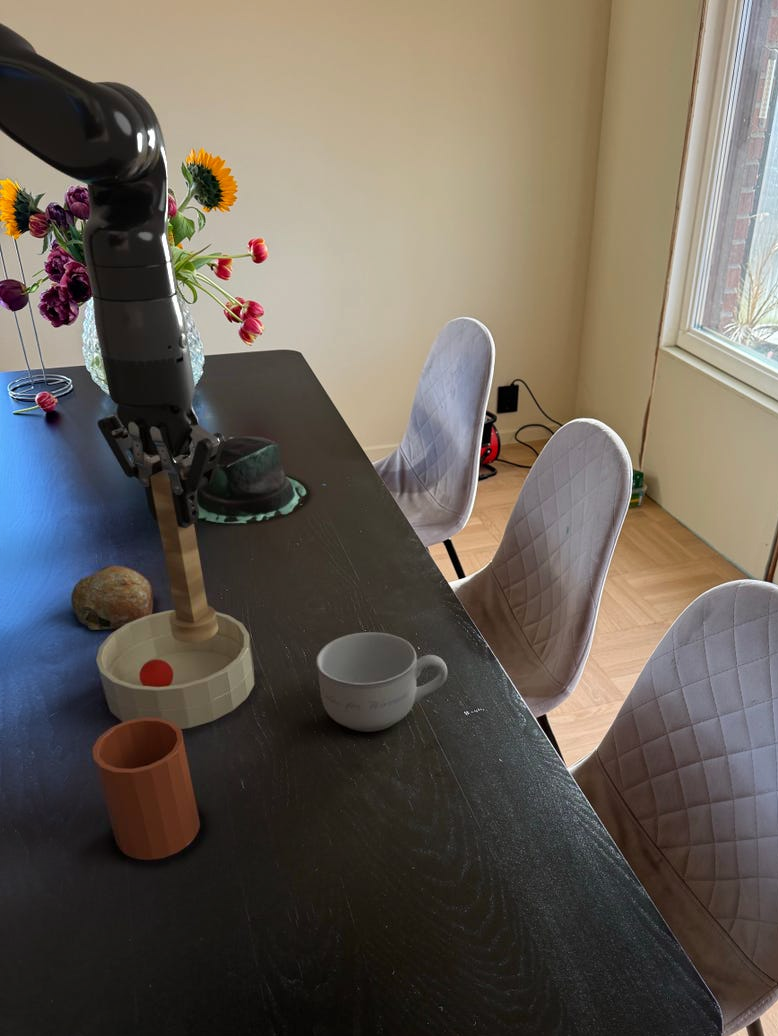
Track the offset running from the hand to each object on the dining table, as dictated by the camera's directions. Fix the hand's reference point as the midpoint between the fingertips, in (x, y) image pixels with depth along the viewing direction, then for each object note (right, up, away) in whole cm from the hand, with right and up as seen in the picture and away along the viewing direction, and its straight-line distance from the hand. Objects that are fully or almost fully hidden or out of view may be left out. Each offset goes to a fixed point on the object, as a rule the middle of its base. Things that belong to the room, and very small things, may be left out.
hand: (176, 521), depth 88 cm
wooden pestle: (0, -11, +7) cm, 13 cm away
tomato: (-6, -16, +12) cm, 21 cm away
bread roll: (-17, -8, +27) cm, 33 cm away
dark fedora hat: (-9, +12, +58) cm, 60 cm away
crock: (0, -30, -6) cm, 31 cm away
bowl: (-4, -18, +13) cm, 22 cm away
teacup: (+20, -20, +11) cm, 30 cm away
